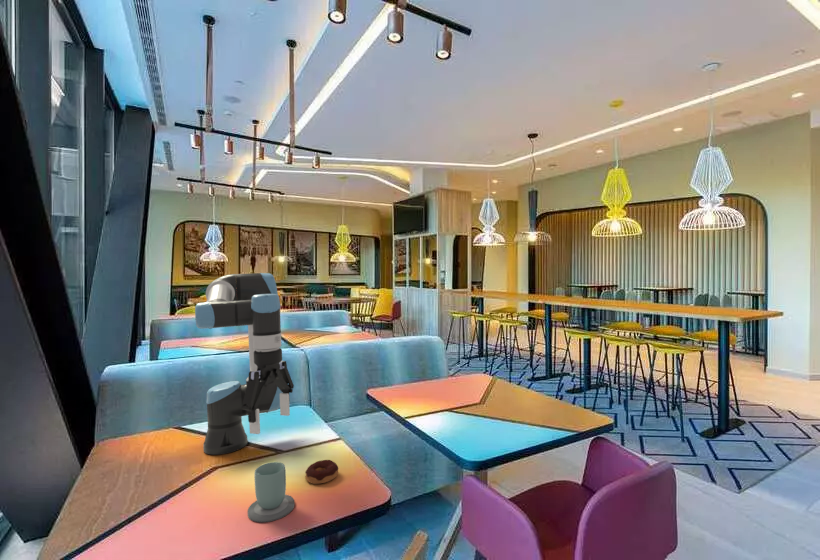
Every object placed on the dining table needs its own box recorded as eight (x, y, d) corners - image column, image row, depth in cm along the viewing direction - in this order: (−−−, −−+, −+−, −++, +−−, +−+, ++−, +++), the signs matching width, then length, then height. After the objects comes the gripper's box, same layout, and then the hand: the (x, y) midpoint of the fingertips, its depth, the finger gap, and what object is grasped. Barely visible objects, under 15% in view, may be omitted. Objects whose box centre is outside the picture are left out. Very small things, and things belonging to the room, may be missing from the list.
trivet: (237, 518, 106) (237, 515, 106) (266, 494, 117) (266, 491, 117) (277, 525, 102) (277, 521, 102) (303, 499, 114) (302, 496, 114)
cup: (277, 514, 105) (275, 476, 105) (250, 512, 107) (248, 474, 107) (291, 498, 113) (290, 462, 113) (266, 496, 114) (265, 461, 114)
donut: (308, 489, 120) (307, 475, 120) (302, 474, 129) (302, 462, 128) (342, 481, 124) (341, 468, 124) (334, 467, 133) (333, 455, 133)
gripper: (249, 359, 101) (252, 443, 102) (303, 341, 125) (306, 409, 125) (224, 358, 103) (228, 440, 104) (282, 340, 127) (285, 407, 128)
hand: (270, 423), depth 115 cm, fingers open, 13 cm apart
